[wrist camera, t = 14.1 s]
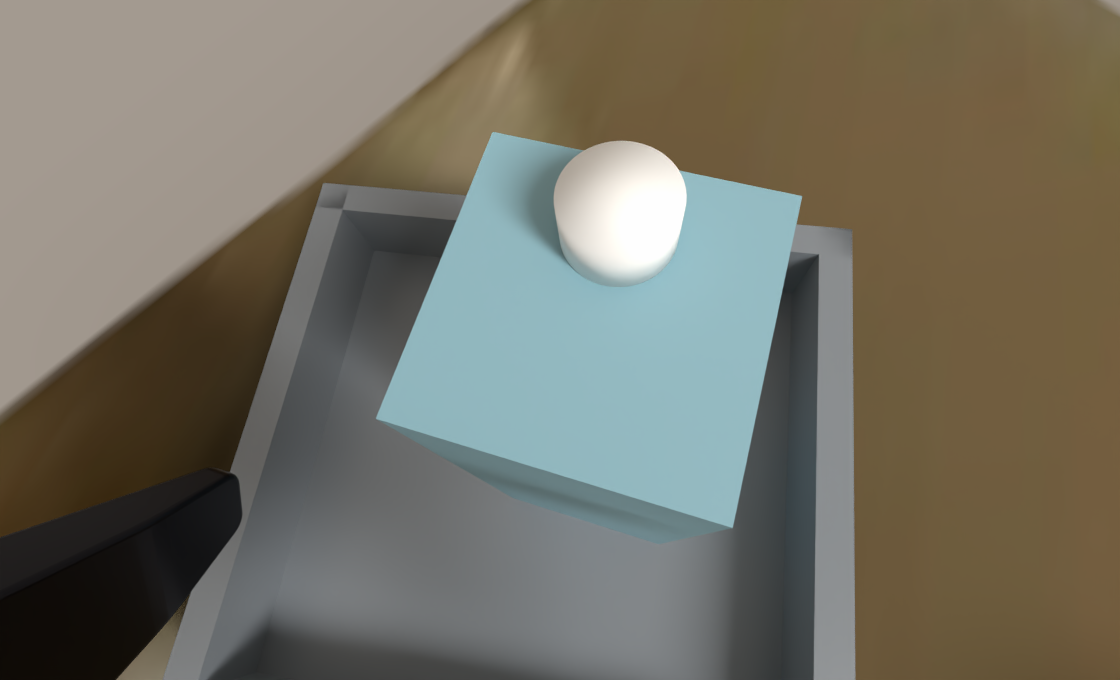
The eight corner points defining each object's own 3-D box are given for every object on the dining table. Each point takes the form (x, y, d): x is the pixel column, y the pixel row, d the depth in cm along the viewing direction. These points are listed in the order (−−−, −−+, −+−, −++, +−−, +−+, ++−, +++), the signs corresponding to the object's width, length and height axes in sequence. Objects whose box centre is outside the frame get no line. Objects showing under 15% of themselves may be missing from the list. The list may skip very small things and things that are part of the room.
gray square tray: (803, 811, 18) (856, 881, 14) (235, 694, 20) (146, 727, 16) (812, 282, 23) (852, 229, 19) (366, 238, 25) (323, 183, 21)
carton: (658, 544, 19) (750, 523, 7) (512, 497, 20) (346, 401, 8) (694, 398, 21) (824, 155, 8) (556, 360, 22) (480, 87, 9)
